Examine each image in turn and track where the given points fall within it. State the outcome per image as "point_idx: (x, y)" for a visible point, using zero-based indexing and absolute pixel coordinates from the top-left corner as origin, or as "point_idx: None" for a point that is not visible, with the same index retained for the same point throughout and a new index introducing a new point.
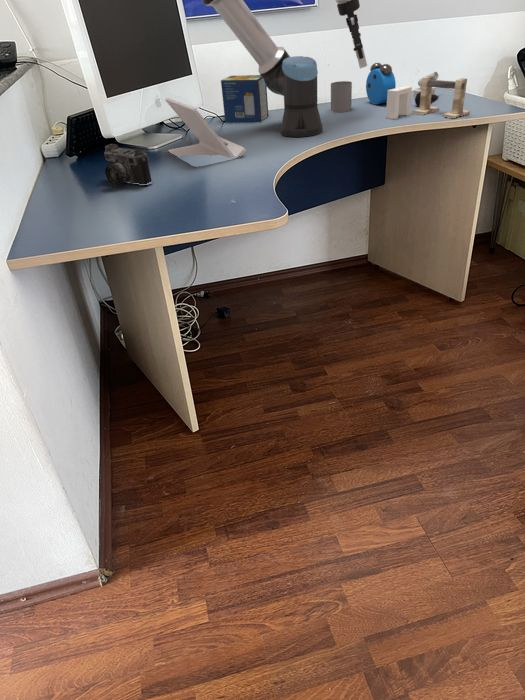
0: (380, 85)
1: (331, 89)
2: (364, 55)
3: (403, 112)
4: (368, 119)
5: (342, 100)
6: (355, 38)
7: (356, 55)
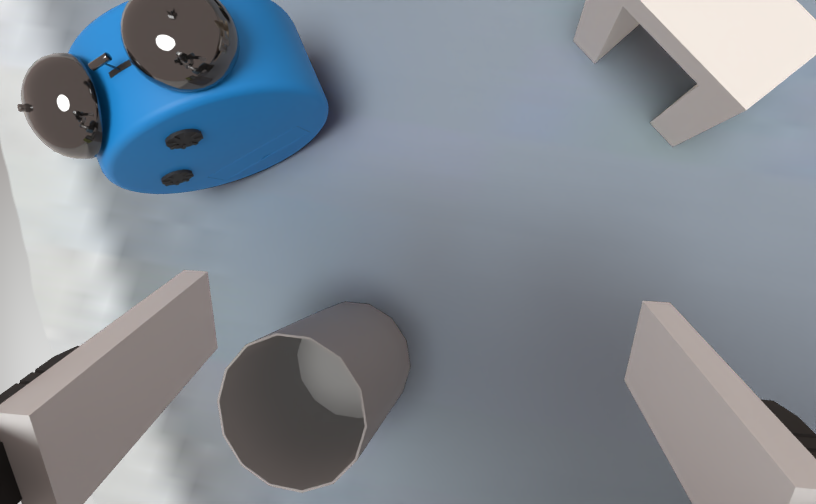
0: (277, 112)
1: (323, 471)
2: (741, 386)
3: (634, 26)
4: (667, 253)
5: (393, 381)
6: None
7: (202, 363)
